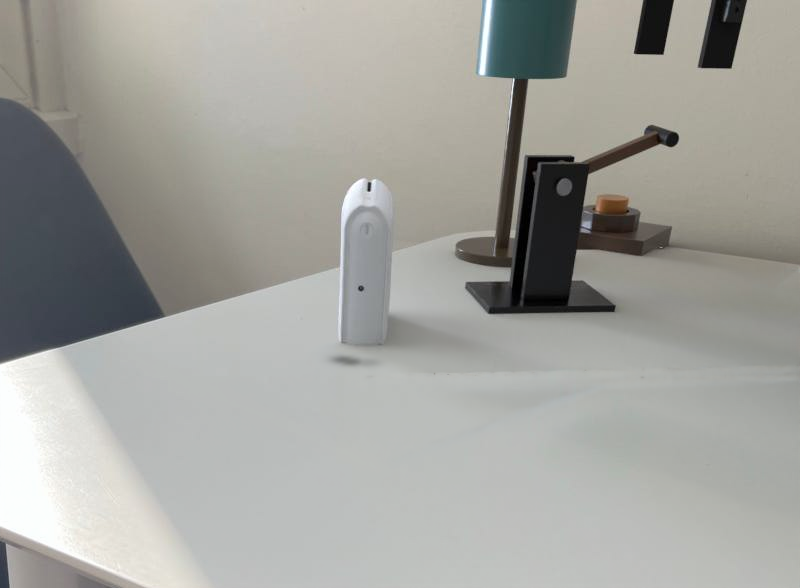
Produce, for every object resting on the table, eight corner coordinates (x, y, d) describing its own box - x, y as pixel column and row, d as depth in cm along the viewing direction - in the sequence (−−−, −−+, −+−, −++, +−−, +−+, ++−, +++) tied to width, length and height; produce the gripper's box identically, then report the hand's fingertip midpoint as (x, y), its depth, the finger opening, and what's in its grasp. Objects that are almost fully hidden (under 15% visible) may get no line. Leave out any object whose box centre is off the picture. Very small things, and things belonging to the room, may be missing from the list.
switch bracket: (581, 292, 100) (603, 151, 92) (613, 318, 92) (640, 167, 85) (464, 294, 98) (478, 151, 91) (487, 320, 91) (504, 167, 84)
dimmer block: (668, 245, 118) (675, 209, 115) (640, 261, 111) (647, 223, 109) (573, 232, 123) (578, 197, 121) (540, 246, 116) (545, 209, 114)
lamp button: (630, 213, 115) (633, 196, 114) (619, 218, 113) (622, 201, 112) (601, 209, 117) (603, 193, 116) (589, 213, 115) (592, 197, 114)
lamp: (545, 254, 113) (581, -8, 99) (545, 275, 105) (585, -7, 91) (457, 249, 114) (480, -10, 100) (451, 269, 106) (475, -9, 92)
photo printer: (387, 354, 82) (396, 193, 75) (335, 352, 82) (340, 191, 75) (387, 318, 91) (396, 171, 84) (340, 316, 91) (345, 169, 84)
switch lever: (658, 142, 91) (654, 115, 89) (681, 151, 87) (677, 122, 85) (533, 195, 92) (527, 169, 91) (550, 206, 88) (544, 178, 86)
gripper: (633, -232, 87) (589, 48, 99) (780, -288, 67) (703, 74, 79) (713, -228, 88) (660, 50, 100) (882, -281, 68) (790, 75, 80)
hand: (679, 61), depth 89 cm, fingers open, 13 cm apart
